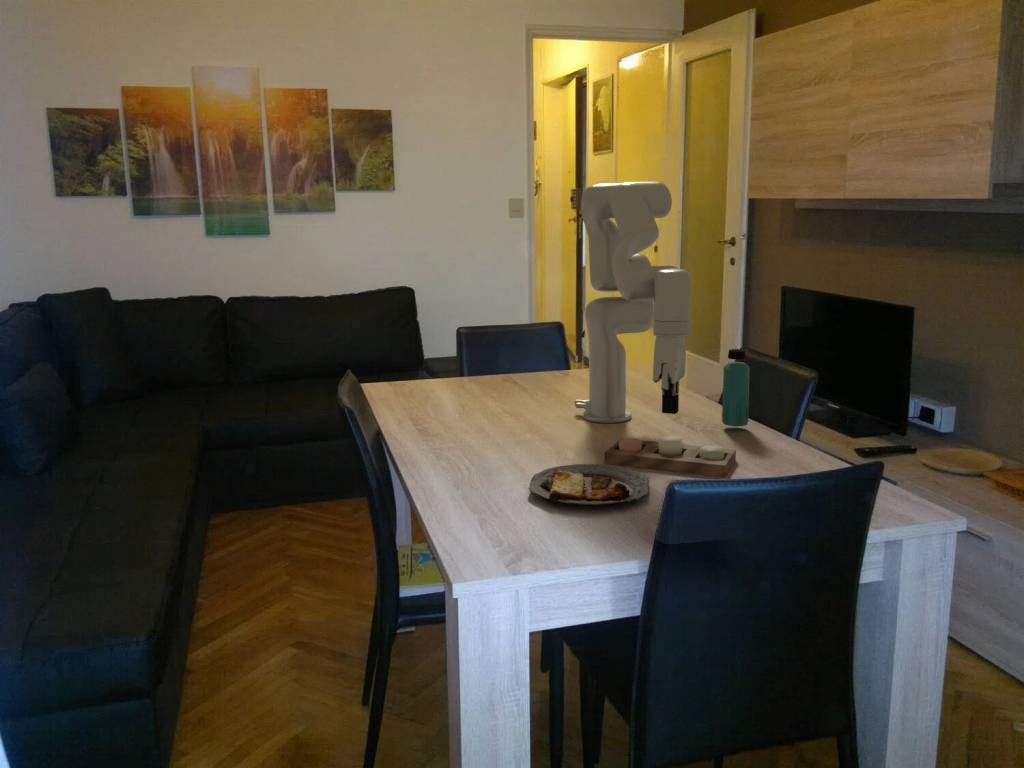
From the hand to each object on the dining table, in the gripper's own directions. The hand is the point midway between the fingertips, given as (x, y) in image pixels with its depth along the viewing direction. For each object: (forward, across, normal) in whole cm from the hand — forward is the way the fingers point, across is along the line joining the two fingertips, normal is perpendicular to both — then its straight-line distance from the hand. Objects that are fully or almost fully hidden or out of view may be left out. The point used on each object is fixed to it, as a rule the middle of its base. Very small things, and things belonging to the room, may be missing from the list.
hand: (670, 412), depth 185 cm
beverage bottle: (+11, -32, +8) cm, 35 cm away
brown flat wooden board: (+11, 0, 0) cm, 11 cm away
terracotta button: (+11, 0, -9) cm, 14 cm away
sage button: (+11, 0, +9) cm, 14 cm away
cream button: (+9, 0, 0) cm, 9 cm away
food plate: (+12, +24, -10) cm, 28 cm away
